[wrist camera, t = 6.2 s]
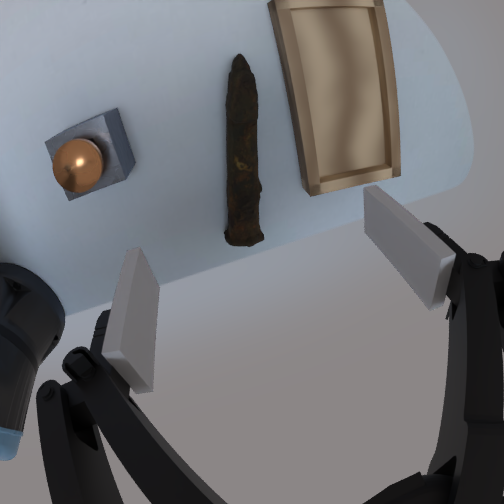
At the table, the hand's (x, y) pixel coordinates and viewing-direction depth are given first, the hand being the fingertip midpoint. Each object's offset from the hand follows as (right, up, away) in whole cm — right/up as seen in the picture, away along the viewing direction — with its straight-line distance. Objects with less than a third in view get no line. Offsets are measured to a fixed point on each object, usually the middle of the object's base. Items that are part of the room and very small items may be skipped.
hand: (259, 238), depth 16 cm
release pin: (-15, +10, +11) cm, 21 cm away
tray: (+8, +16, +12) cm, 22 cm away
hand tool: (-2, +10, +15) cm, 18 cm away
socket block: (-15, +10, +11) cm, 21 cm away
